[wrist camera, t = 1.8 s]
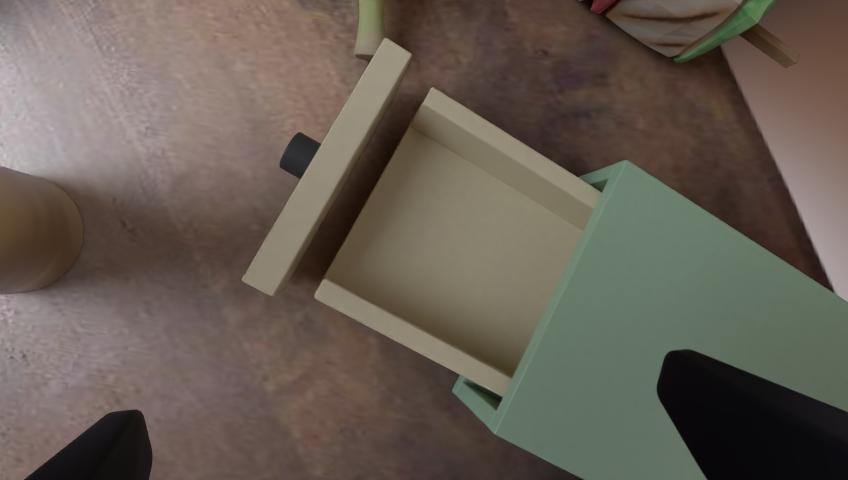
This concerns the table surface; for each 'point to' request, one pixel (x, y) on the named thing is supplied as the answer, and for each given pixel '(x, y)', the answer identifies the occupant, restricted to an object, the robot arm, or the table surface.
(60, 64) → the table surface
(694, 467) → the cabinet
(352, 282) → the drawer
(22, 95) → the table surface
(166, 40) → the table surface
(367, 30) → the banana
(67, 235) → the pepper mill
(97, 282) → the table surface
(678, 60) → the skewer
